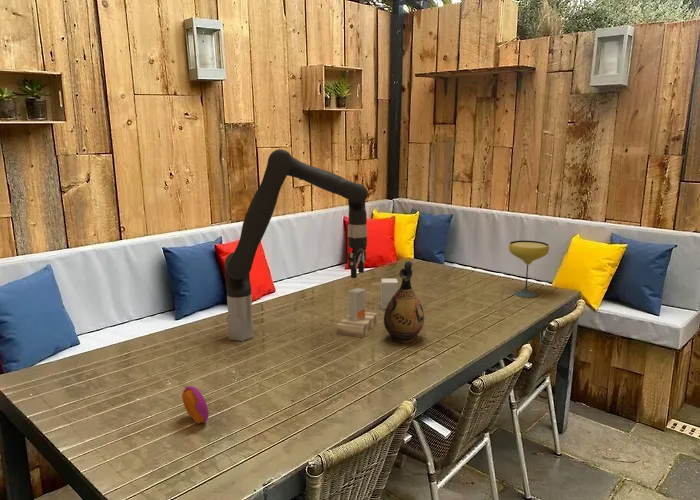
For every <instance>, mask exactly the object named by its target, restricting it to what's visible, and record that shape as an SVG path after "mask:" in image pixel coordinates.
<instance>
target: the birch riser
mask: <svg viewBox="0 0 700 500" xmlns="http://www.w3.org/2000/svg"><path fill="white" fill-rule="evenodd" d="M377 323H378V313H377V312H369V311H365V318H363V319H360V320H358V321H354V320H350V319H349V313H348V314H346V315H345V316H344V317H343V318H341V320H340V321H339V322H338V323H336V335H341V336H348V337H355V338H356V337H358V338H364V337H365V336H367V334H368V333H369V332H370V331H371V330H372V328H374V326H375V325H377Z"/></svg>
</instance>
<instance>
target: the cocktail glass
mask: <svg viewBox="0 0 700 500" xmlns="http://www.w3.org/2000/svg"><path fill="white" fill-rule="evenodd" d="M508 250H509V252H510V253H511V254H512V255H513V256H515V257H516V258H518V259H520V260H522V261H523V263H524V264H525V265H526V273H525V275H526V276H525V285H524V289H523V290H516V291H514V292H513V294H514V295H515V296H517V297H520V296H521V298H526V297H532V298H536V297H538V293H537V292H534V291H531V290H528V277H529V276H528V275H529V273H528V272H529V266H530V265H531V264H532V263H533V262H534V261H536V260H539V259H542V258H544V257H545V256H546V255H548V254H549V251H550V245H549V244H548V243H546V242H542V241H538V240H537V241H536V240H514V241H510V242H509V245H508Z"/></svg>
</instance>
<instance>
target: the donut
mask: <svg viewBox="0 0 700 500" xmlns="http://www.w3.org/2000/svg"><path fill="white" fill-rule="evenodd" d="M181 398H182V402H183V405H184V408H185V410H186V413H187V414H188V415H189V417H191V418H192V419H193V420H194V423H196V424H201V423H202V424H205V423H206V422H207V421H208V419H209V417H210V416H209V413H210V412H209V408H208V404H207V401H206V399H205V397H204V395H203V394H202V393H201V392H200V390H199V389H198V388H196V387H195V386H193V385H190V386H189V385H188V386H185V388H184V390H183V392H182V394H181Z"/></svg>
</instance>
